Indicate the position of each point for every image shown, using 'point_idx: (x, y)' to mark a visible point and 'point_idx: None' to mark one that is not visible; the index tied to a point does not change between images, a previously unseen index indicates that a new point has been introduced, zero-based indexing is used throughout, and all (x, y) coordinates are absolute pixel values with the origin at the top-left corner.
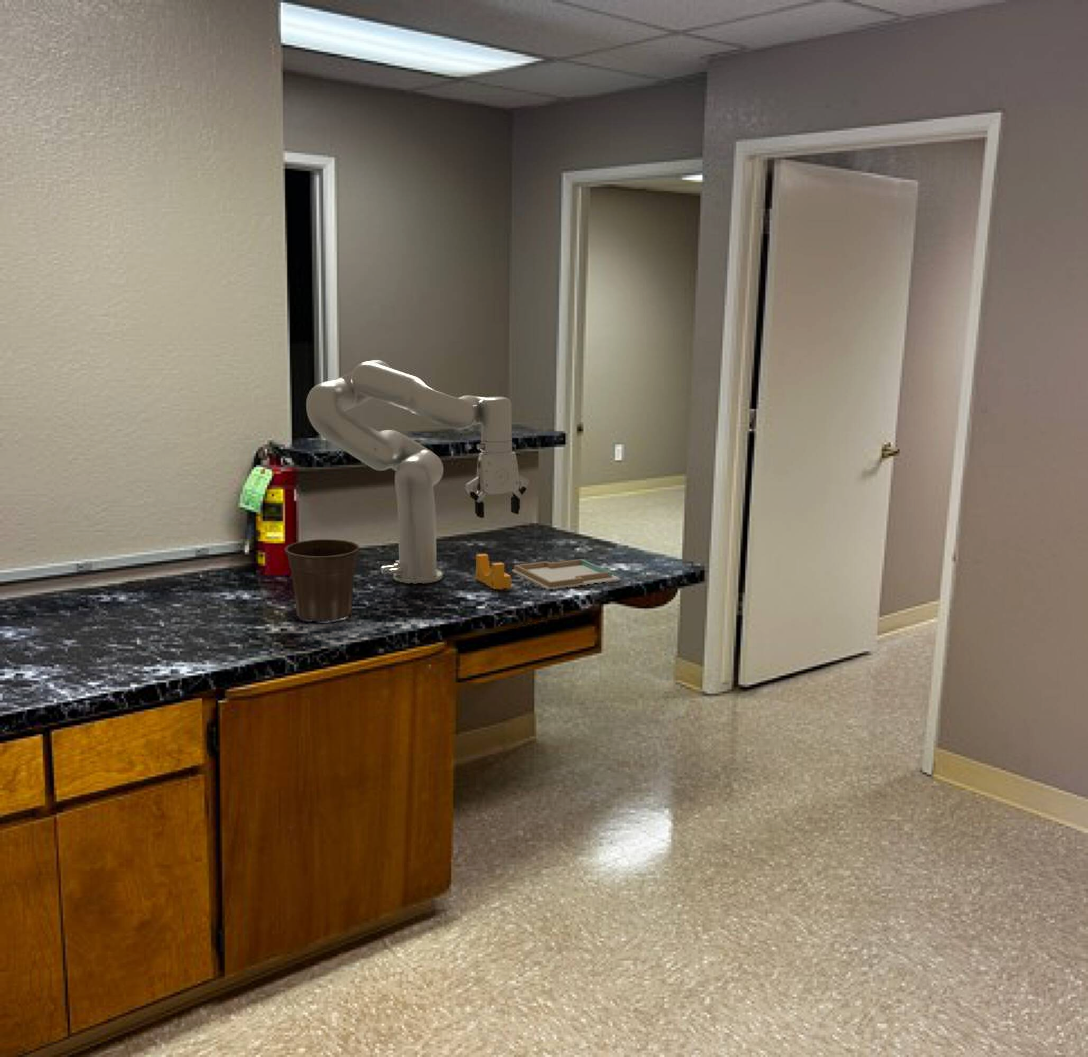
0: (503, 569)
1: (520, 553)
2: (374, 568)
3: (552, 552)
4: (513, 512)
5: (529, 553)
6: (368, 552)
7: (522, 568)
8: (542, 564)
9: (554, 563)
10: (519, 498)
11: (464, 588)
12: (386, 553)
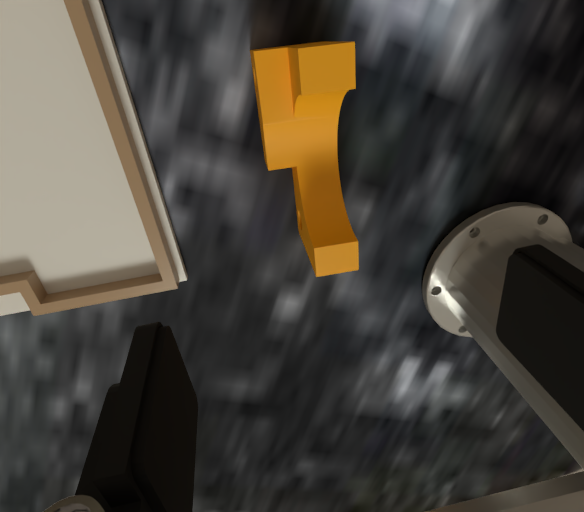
0: (298, 47)
1: None
2: None
3: (8, 454)
4: (184, 370)
5: None
6: (475, 482)
7: (154, 239)
8: (59, 296)
9: (3, 283)
10: (77, 506)
11: (421, 107)
12: (446, 474)
